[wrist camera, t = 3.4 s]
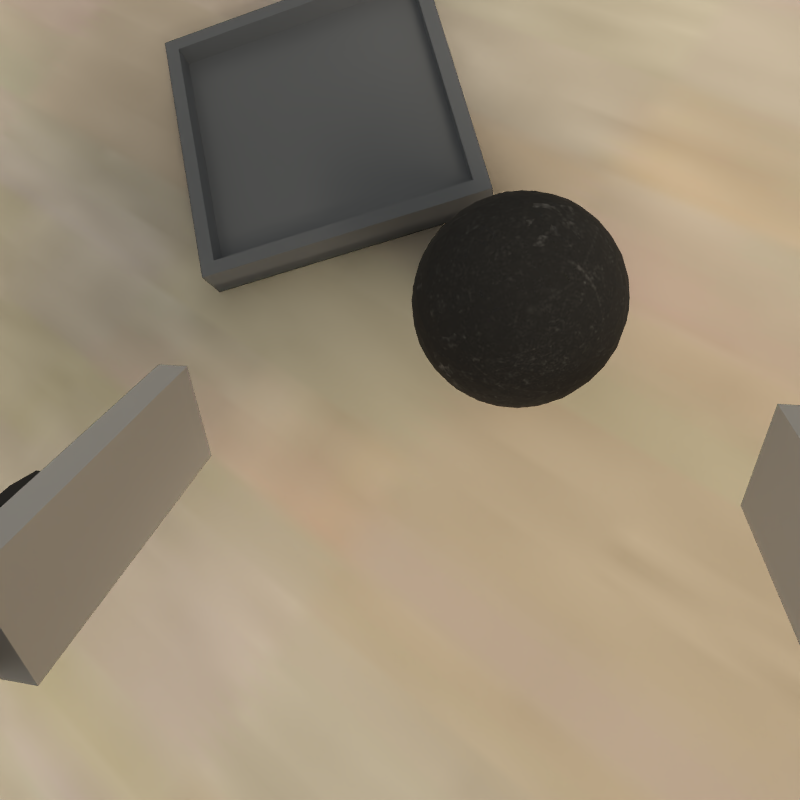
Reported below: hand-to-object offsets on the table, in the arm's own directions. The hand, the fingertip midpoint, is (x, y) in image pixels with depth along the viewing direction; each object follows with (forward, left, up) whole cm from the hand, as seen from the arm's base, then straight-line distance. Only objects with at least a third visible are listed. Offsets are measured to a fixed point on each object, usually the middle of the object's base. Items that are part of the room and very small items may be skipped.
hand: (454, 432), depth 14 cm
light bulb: (-2, -3, -9) cm, 10 cm away
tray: (+3, -16, -9) cm, 19 cm away
